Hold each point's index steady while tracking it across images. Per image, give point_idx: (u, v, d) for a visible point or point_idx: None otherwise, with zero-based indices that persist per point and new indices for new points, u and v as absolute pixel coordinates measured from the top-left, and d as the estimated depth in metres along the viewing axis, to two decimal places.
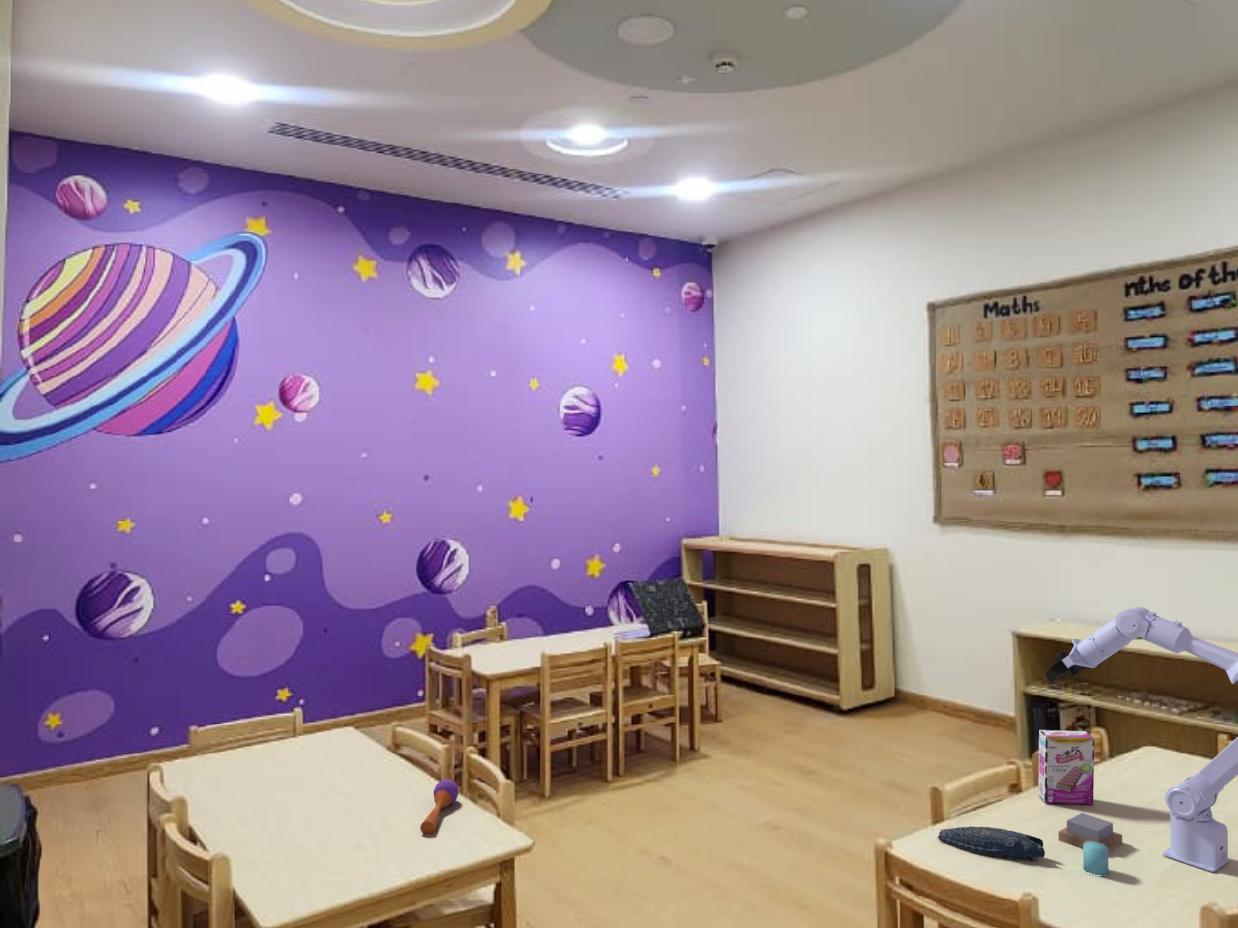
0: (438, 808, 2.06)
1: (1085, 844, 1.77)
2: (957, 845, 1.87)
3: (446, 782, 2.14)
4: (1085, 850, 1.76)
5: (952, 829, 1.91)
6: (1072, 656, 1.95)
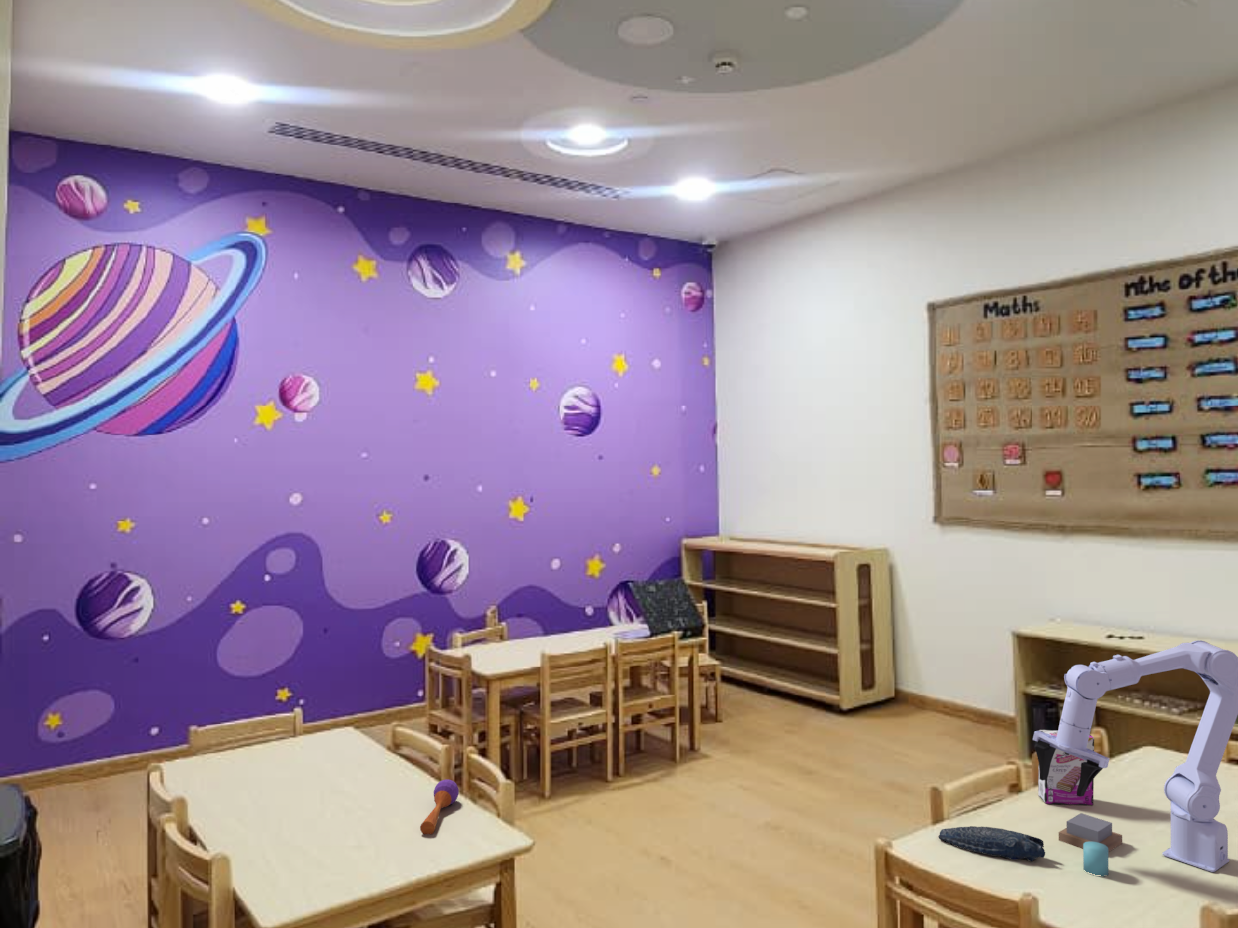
0: (438, 808, 2.06)
1: (1085, 844, 1.77)
2: (957, 845, 1.87)
3: (446, 782, 2.14)
4: (1085, 850, 1.76)
5: (953, 829, 1.91)
6: None
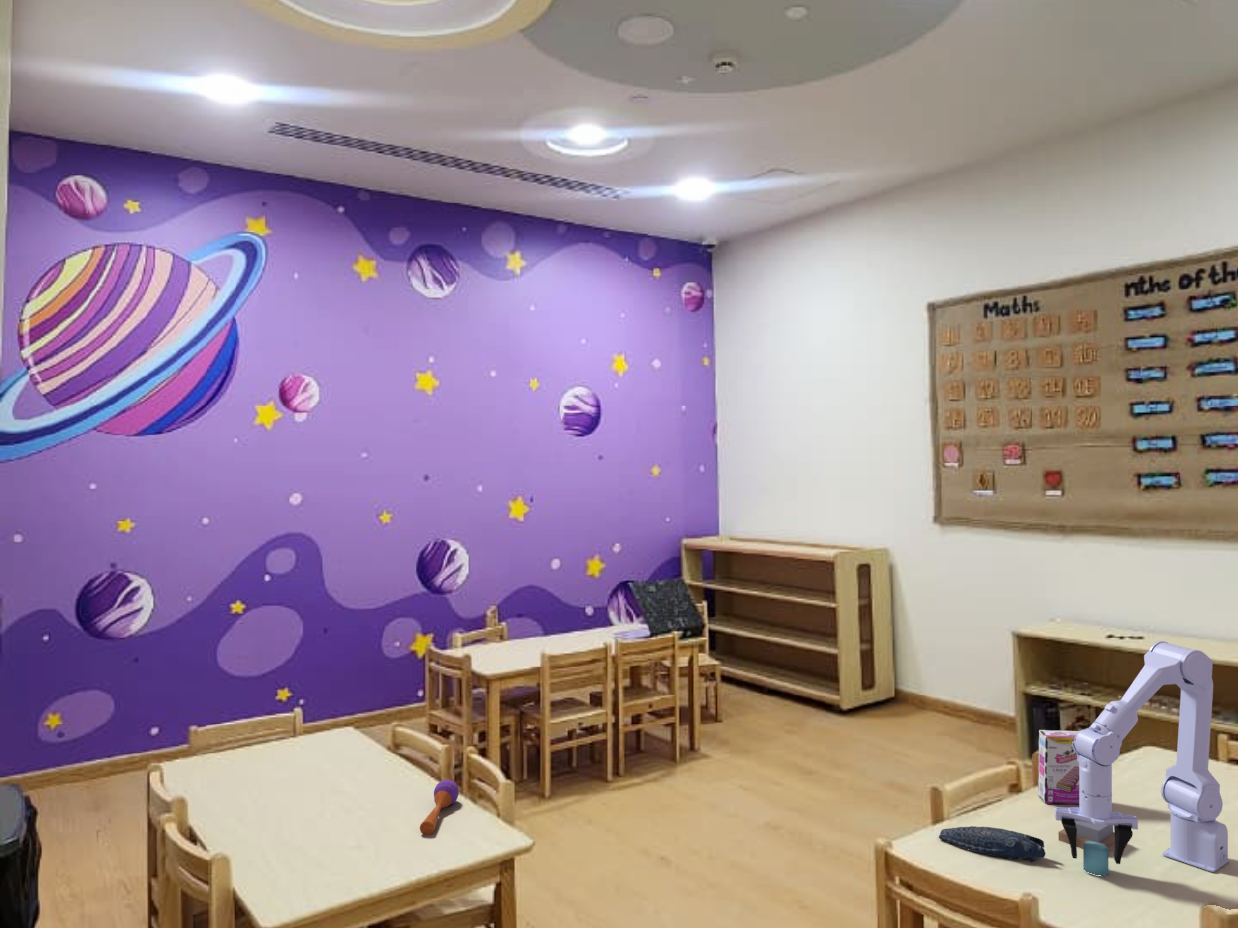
0: (438, 808, 2.06)
1: (1085, 844, 1.77)
2: (958, 845, 1.87)
3: (446, 782, 2.14)
4: (1085, 850, 1.76)
5: (953, 829, 1.91)
6: None
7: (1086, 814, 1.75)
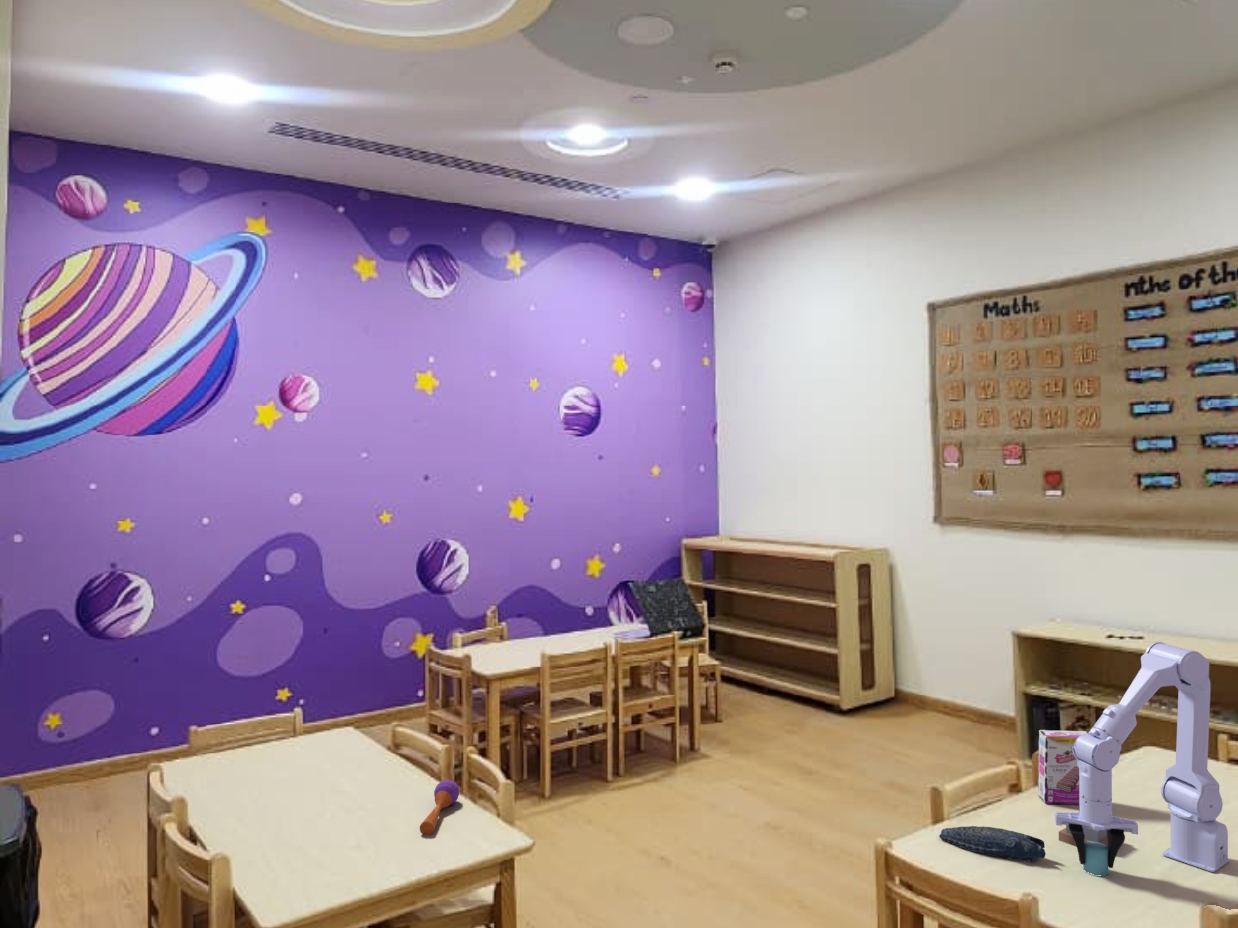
0: (438, 808, 2.05)
1: (1085, 844, 1.77)
2: (958, 844, 1.88)
3: (447, 782, 2.14)
4: (1085, 850, 1.76)
5: (954, 828, 1.91)
6: None
7: (1086, 819, 1.75)
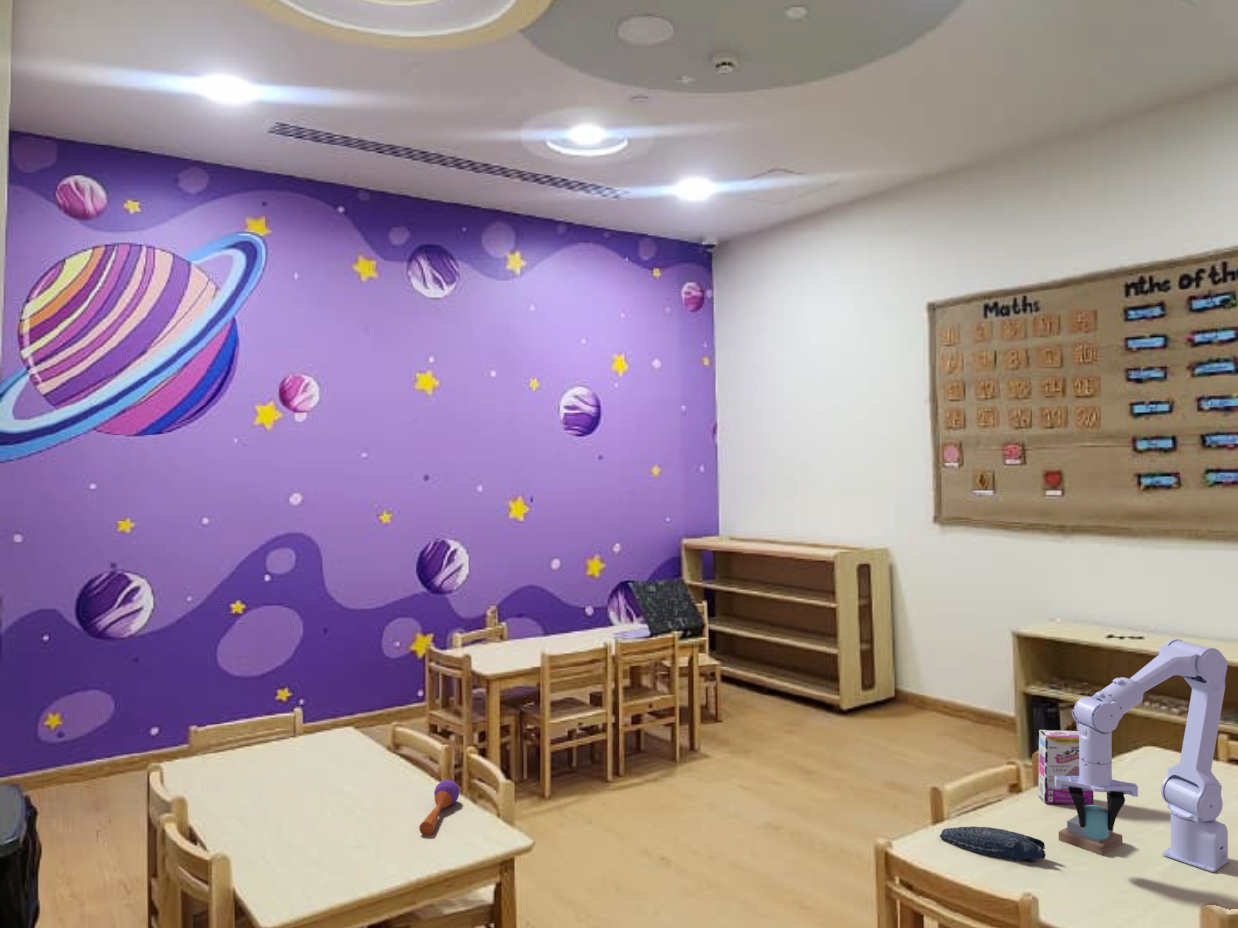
0: (438, 809, 2.05)
1: (1085, 807, 1.77)
2: (958, 844, 1.88)
3: (447, 782, 2.14)
4: (1085, 813, 1.76)
5: (954, 828, 1.91)
6: None
7: (1086, 782, 1.75)
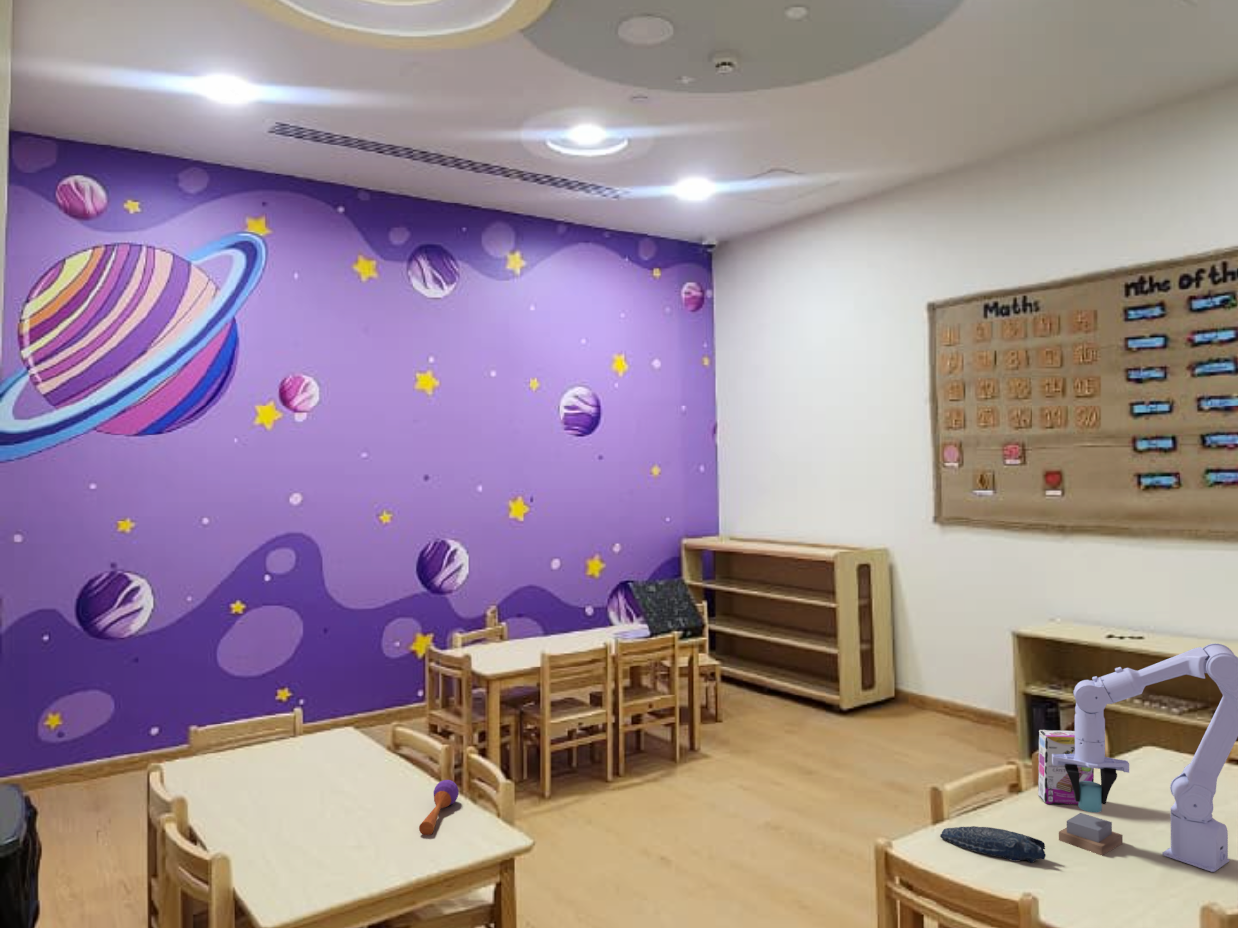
0: (437, 809, 2.05)
1: (1080, 783, 1.90)
2: (958, 844, 1.88)
3: (446, 782, 2.14)
4: (1080, 788, 1.88)
5: (955, 828, 1.91)
6: None
7: (1081, 759, 1.87)
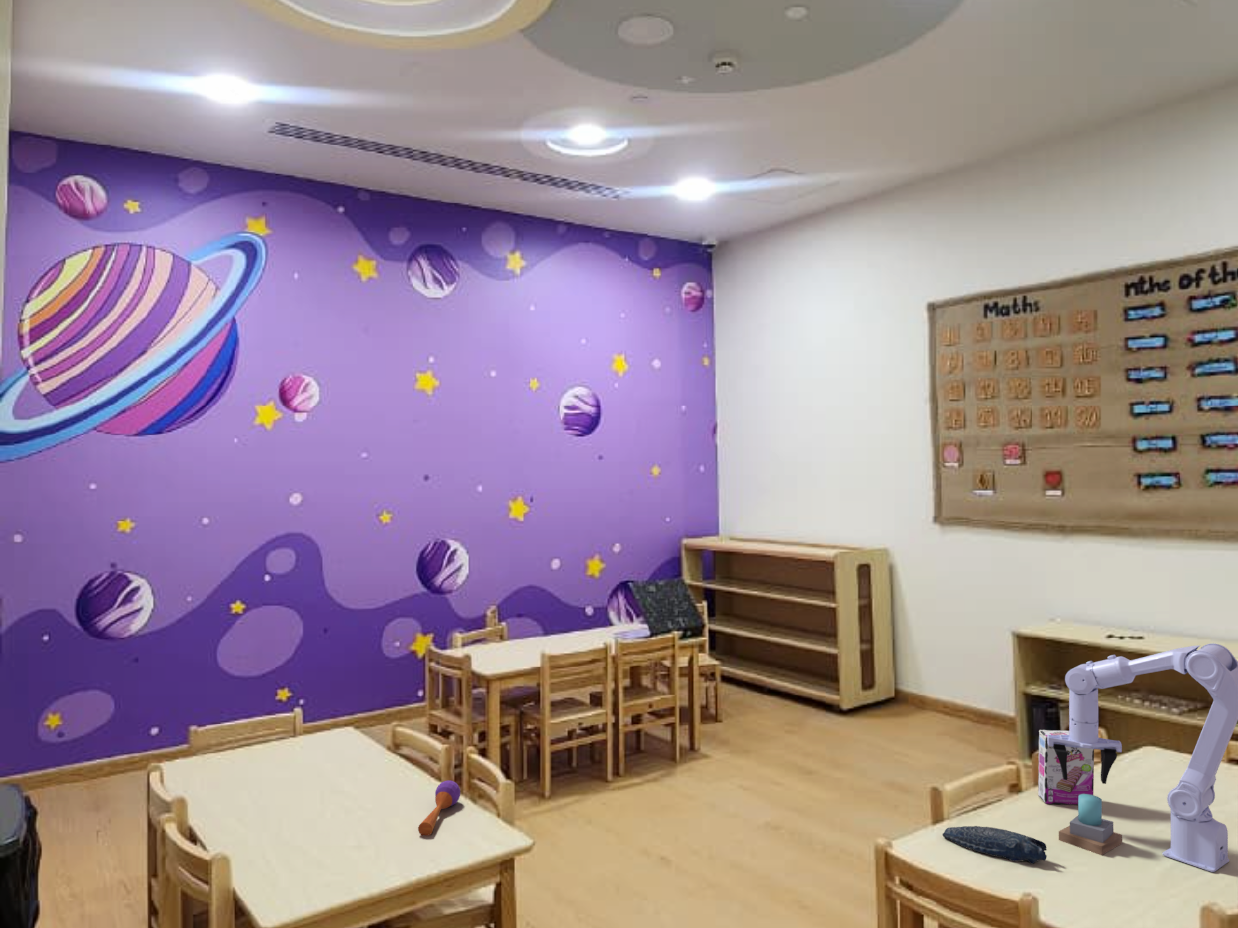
0: (438, 809, 2.05)
1: (1080, 796, 1.90)
2: (960, 843, 1.88)
3: (448, 783, 2.13)
4: (1079, 801, 1.89)
5: (957, 828, 1.92)
6: None
7: (1075, 739, 1.95)
